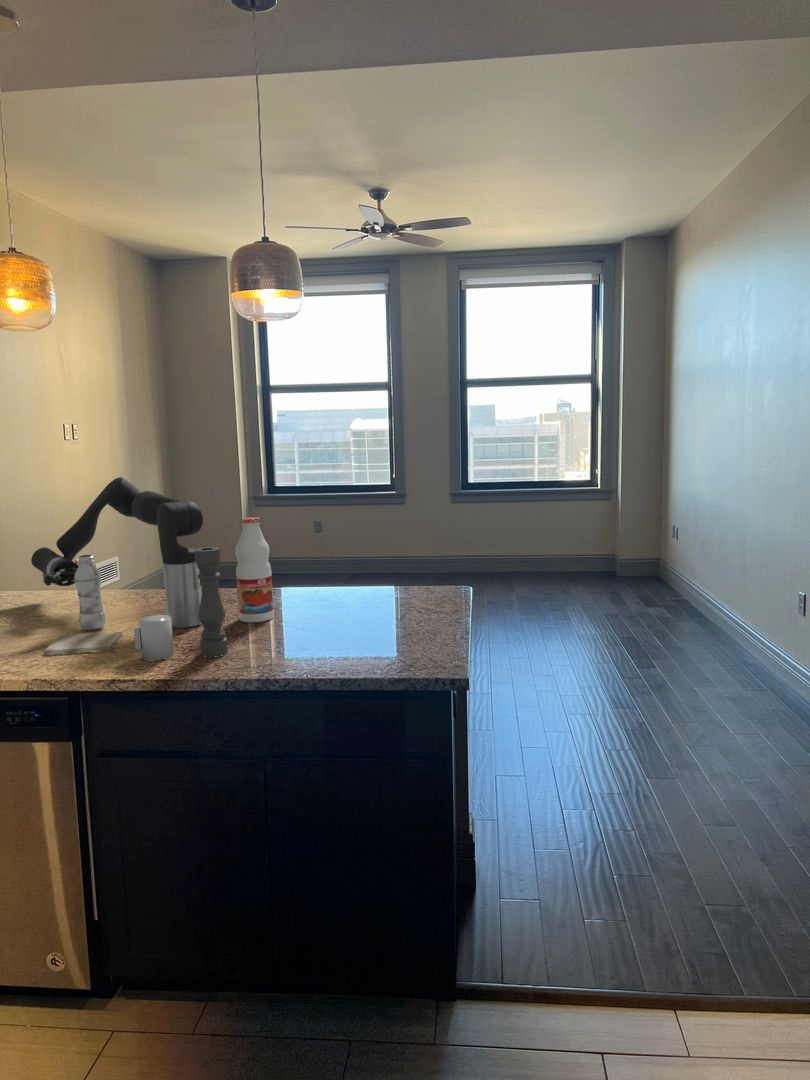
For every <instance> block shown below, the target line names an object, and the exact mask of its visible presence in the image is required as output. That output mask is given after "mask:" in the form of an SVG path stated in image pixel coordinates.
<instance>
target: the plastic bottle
mask: <svg viewBox="0 0 810 1080" xmlns="http://www.w3.org/2000/svg"><path fill="white" fill-rule="evenodd" d="M94 563H95V558H94V555H93V554H84V555H79V556H78V564H79V565H78V566H79V568H78V569H77V571H76V573H75V576H74V578H75V582H76V583H75V585H76V589H77V595H78V600H79V603H78V604H79V614H78V622H79V623H78V624H79V626H80V628H81V629H82V630H83V631H95V630H100V629H102V628H104V627H105V625H106V623H107V622H106V620H107V619H106V613H105V612H104V607H103V603H102V591H101V583H102V582H101V581H102V579H101V578H102V574H101V571H100V569H99V568H98V567H97V566H96V565H95V564H94ZM98 569H99V570H98Z"/></svg>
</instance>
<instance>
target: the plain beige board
mask: <svg viewBox="0 0 810 1080" xmlns="http://www.w3.org/2000/svg"><path fill="white" fill-rule="evenodd" d="M123 636H124V635H123V631H111V632H97V633H95V632H94V633H79V634H78V633H77V634H62V635H60V636H59V637H57V638H56V639H55V640H54V641H53V642H52V643H50V645H49V646H47V647H46V648H45V649H44V650H43V653H44V655H43V656H52V655H51V654H58V655H64V654H63V653H74V654H78V653H77V652H90V653H93V652H92V651H105V652H111V651H112V649H113V648H114V647H115V646H116V645H115V644H117V643H118V642H119V641H120V640H121V639H122V638H123ZM120 638H121V639H120ZM119 639H120V640H119ZM118 640H119V641H118ZM114 645H115V646H114ZM113 646H114V647H113ZM110 650H111V651H110Z"/></svg>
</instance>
